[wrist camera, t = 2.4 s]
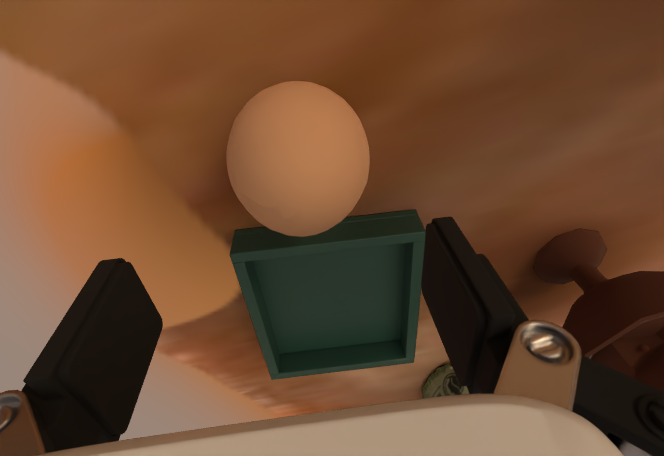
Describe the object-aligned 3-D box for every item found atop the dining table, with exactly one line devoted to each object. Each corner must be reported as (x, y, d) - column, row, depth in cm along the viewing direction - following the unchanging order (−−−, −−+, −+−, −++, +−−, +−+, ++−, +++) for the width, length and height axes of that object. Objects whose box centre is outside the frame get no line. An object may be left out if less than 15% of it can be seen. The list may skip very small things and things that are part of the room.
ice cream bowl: (491, 310, 32) (606, 517, 20) (517, 206, 26) (712, 424, 14) (608, 295, 32) (792, 492, 20) (665, 188, 26) (988, 388, 14)
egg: (337, 188, 24) (359, 284, 16) (231, 168, 22) (202, 264, 15) (370, 82, 20) (417, 145, 13) (246, 49, 18) (217, 98, 11)
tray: (234, 229, 25) (229, 254, 23) (415, 209, 25) (426, 231, 23) (273, 354, 34) (271, 380, 32) (407, 338, 34) (414, 362, 32)
